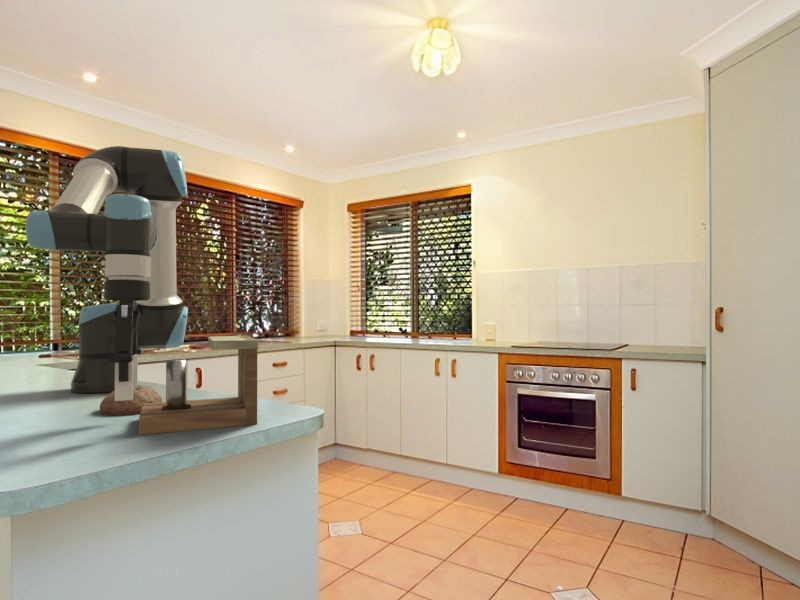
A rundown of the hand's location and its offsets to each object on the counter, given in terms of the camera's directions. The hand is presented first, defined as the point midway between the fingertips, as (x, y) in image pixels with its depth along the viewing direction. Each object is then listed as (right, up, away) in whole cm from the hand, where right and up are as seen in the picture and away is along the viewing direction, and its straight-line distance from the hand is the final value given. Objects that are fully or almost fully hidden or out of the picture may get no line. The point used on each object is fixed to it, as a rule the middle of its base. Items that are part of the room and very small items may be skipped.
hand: (126, 394), depth 94 cm
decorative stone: (-8, -7, +16) cm, 19 cm away
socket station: (+11, -6, +5) cm, 14 cm away
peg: (+8, -6, +3) cm, 10 cm away
